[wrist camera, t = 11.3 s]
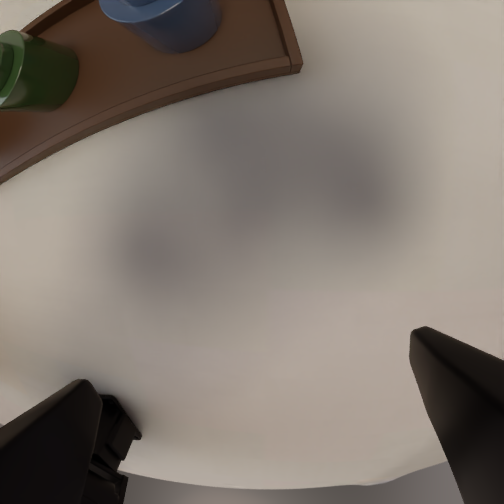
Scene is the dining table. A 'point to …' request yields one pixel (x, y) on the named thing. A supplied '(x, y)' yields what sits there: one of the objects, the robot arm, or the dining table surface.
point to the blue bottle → (167, 21)
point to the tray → (142, 72)
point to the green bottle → (35, 73)
